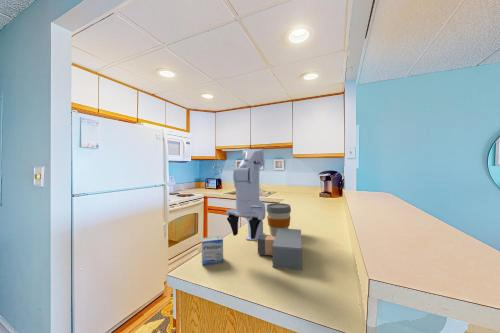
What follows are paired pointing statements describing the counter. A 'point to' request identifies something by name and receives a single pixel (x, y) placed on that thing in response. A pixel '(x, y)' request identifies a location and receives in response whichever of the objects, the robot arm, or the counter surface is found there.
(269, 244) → the grey and tan block
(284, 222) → the reusable coffee cup
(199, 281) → the counter surface
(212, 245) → the medicine box
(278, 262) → the block
